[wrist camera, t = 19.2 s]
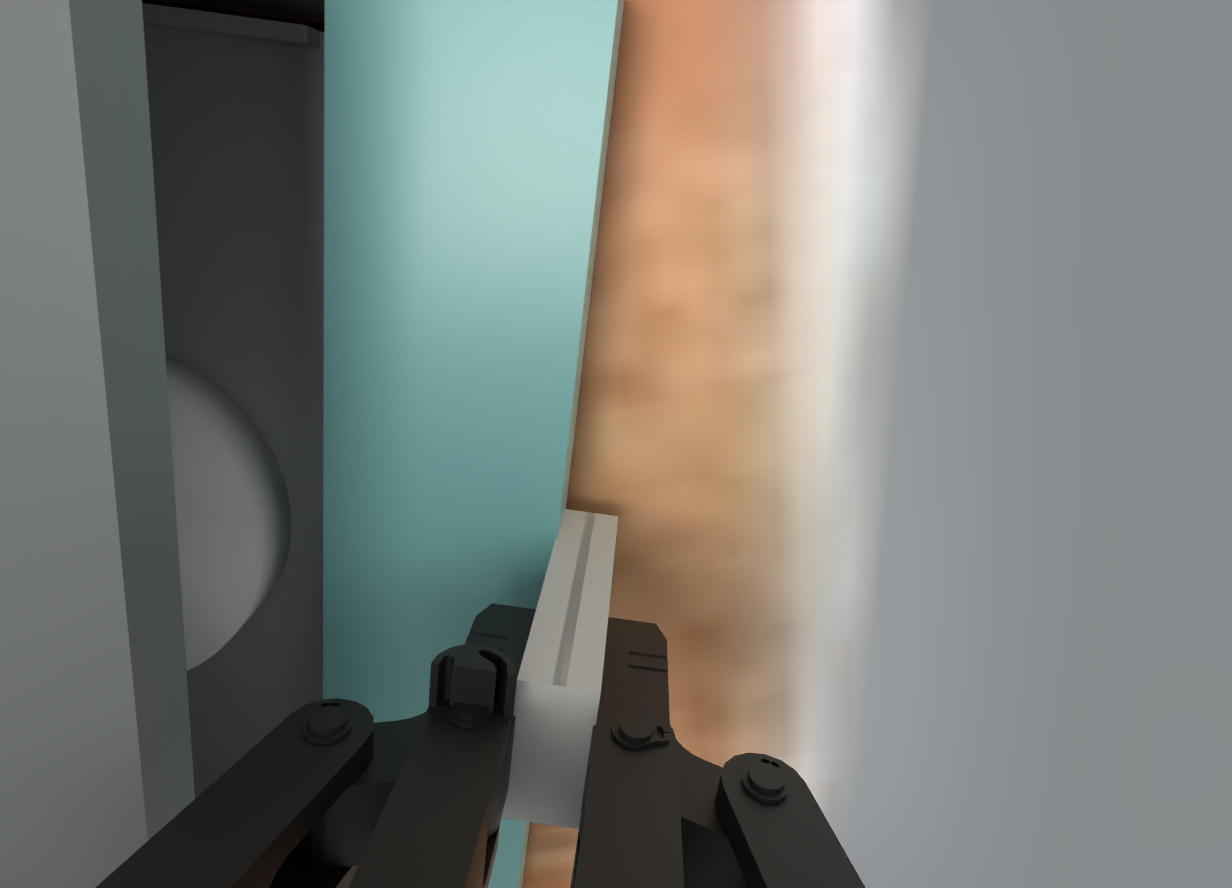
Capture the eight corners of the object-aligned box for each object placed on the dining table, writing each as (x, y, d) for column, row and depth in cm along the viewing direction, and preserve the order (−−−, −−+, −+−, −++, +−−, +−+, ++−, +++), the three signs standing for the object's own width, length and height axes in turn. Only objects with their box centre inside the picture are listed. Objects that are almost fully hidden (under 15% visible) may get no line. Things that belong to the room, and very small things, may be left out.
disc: (-32, 610, 19) (-89, 646, 18) (-56, 301, 17) (-126, 313, 15) (280, 672, 20) (249, 713, 18) (303, 378, 17) (270, 397, 15)
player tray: (-37, 830, 23) (-118, 908, 20) (-221, -122, 15) (-391, -183, 12) (521, 898, 23) (507, 983, 20) (625, -5, 15) (622, -42, 13)
